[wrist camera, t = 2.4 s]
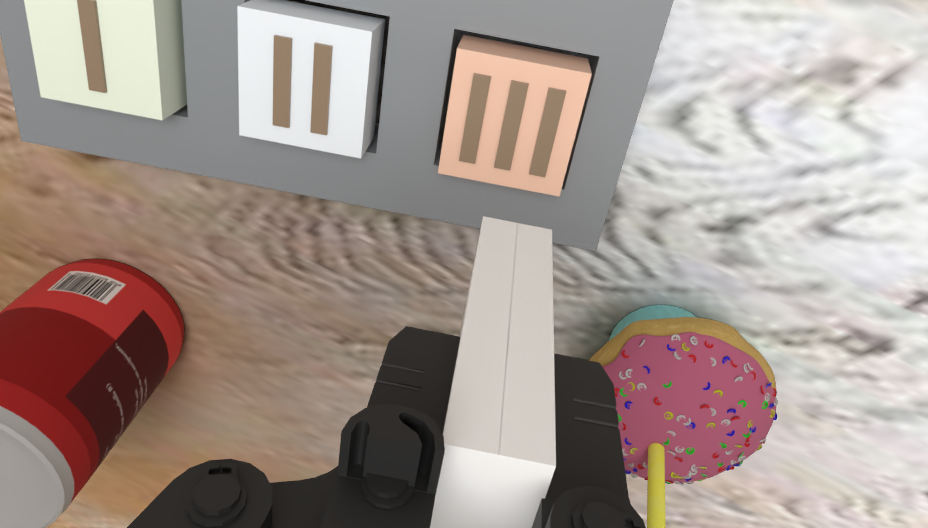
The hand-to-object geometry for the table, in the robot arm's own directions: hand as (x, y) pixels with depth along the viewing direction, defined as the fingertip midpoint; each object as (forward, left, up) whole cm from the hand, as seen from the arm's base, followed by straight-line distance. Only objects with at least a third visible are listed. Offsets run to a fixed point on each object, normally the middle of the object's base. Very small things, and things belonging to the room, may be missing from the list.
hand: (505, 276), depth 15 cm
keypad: (-8, 0, -15) cm, 17 cm away
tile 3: (0, 0, -12) cm, 12 cm away
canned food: (-19, -16, -15) cm, 29 cm away
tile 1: (-15, 0, -12) cm, 20 cm away
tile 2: (-8, 0, -12) cm, 15 cm away
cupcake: (+9, -11, -15) cm, 21 cm away
